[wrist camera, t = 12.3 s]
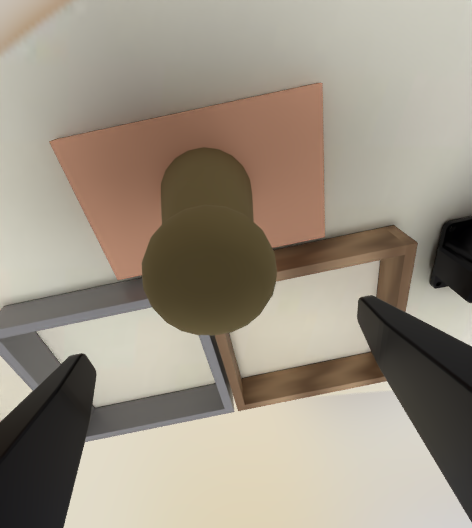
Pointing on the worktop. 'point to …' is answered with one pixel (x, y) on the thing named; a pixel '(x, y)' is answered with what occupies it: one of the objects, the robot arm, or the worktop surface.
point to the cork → (208, 247)
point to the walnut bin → (339, 370)
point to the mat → (192, 137)
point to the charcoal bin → (92, 307)
